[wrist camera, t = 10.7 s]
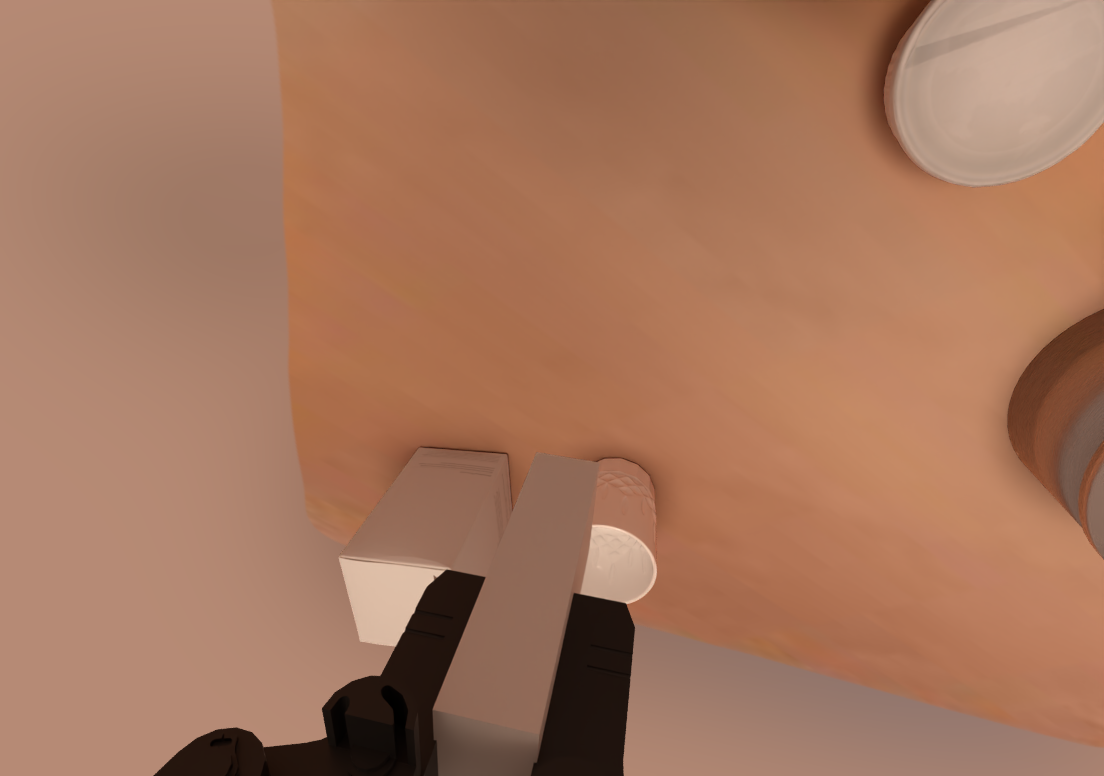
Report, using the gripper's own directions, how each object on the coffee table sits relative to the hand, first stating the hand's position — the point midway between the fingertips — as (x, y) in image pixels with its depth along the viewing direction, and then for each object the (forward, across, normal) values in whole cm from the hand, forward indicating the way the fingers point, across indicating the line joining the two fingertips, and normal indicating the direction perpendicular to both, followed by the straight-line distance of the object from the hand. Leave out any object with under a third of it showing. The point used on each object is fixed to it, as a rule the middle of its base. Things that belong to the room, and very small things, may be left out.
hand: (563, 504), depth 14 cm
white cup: (+33, +1, -23) cm, 40 cm away
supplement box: (+33, -13, -26) cm, 44 cm away
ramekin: (+33, +18, +11) cm, 39 cm away
